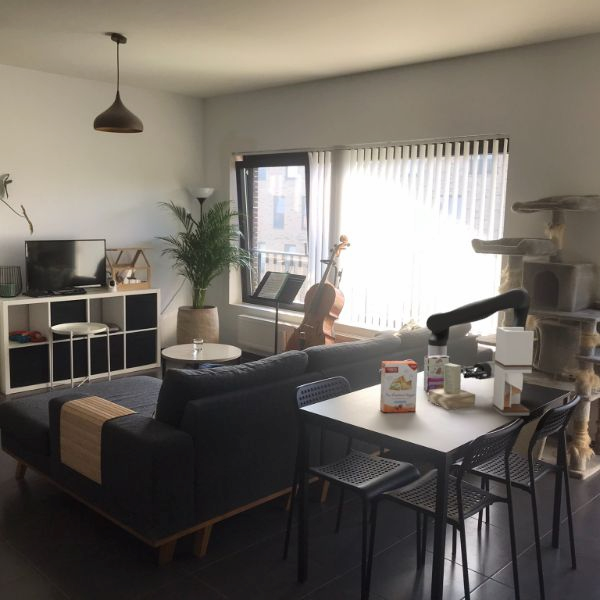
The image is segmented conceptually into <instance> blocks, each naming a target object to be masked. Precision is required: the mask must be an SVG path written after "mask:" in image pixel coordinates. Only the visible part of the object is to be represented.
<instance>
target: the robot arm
mask: <svg viewBox="0 0 600 600" xmlns="http://www.w3.org/2000/svg"><path fill="white" fill-rule="evenodd" d="M531 303H532V298H531V294H529V293H528V292H527V291H525V290H523V289H520V288H512V289H510V290H508V291H505V292H503V293H500V294H498V295H495V296H492V297H487V298H483V299H481V300H477V301H473V302H470V303H467V304H463V305H462V306H459V307H456V308H454V309H452V310H450V311H449V310H448V311H445V312H437V313H432V314H431V315H429V316H428V318H427V320H426V321H425V323H426V324H425V325H426V328H427V329H428V330H429V331H431V335H430V336H429V338H428V342H427V343H428V345H427V349H428V350H427V356H433V355H447V350H448V349H447V348H448V340H449V337H450V328H451V327H454V326H459V325H466V324H470V323H475V322H478V321H482V320H484V319H487V318H489V317H491V316H493V315H495V313H497V312H501V311H504V310H509V309H513V319H512V324H511V327H524V331H526V326H527V321H528V317H529V316H528V315H529V311H530V308H531ZM447 356H448V355H447ZM494 372H495V361H482V362H477V363H475V364H474V365H473V366H468V365H461V374H462V375H463V378H464V379H475V380H481V381H482V380H487V379H488V380H489V379H494ZM522 374H523V375H524V373H522Z"/></svg>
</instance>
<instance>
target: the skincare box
mask: <svg viewBox="0 0 600 600" xmlns="http://www.w3.org/2000/svg"><path fill="white" fill-rule="evenodd" d="M461 366H462V365H460V364H456V363H451V362H450V363H449V364H444V391H445V392H449V393H452V394H456V393H460V389H461V386H462V385H461V382H462V381H461V380H462V378H461V377H462V375H461Z"/></svg>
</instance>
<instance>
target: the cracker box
mask: <svg viewBox="0 0 600 600" xmlns="http://www.w3.org/2000/svg"><path fill="white" fill-rule="evenodd" d="M418 366H419V364H418V363H417V362H415V361H414V360H391V361H390V360H385V361H383V360H382V361H381V375H380V378H381V379H380V397H379V398H380V399H379V400H380V401H379V403H380V404H379V408H380V410H381V412H382V413H383V412H395V413H409V412H408V411H415V412H416V408H417V404H416V403H417V389H418V388H417V387H418V386H417V385H418V368H419V367H418Z"/></svg>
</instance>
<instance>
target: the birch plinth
mask: <svg viewBox="0 0 600 600" xmlns="http://www.w3.org/2000/svg"><path fill="white" fill-rule="evenodd" d="M429 401H431V402H430V403H432V402H433V403H432V404H434V403H435V405H437V404H438V405H437V406H439V405H440V406H439V407H442V408H444V407H445V409H446V408H447V409H446V410H454V408H456V409H461V407H462V408H467V407H474V406H476V394H475V393H473V392H470V391H467V390H464V389H461V388H460V393H456V394H452V393H449V392H445V391H444V388H441V389H433V390H429V392H428V402H429Z"/></svg>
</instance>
